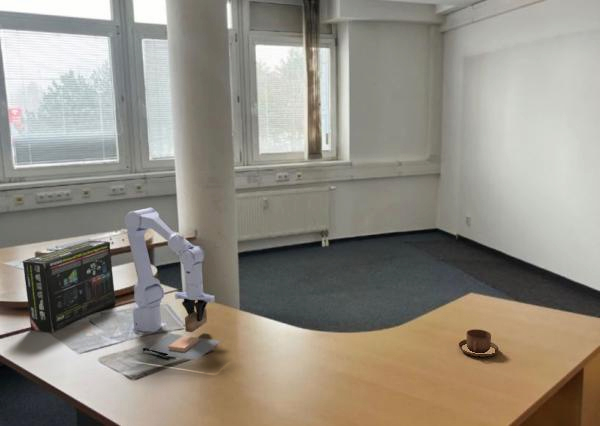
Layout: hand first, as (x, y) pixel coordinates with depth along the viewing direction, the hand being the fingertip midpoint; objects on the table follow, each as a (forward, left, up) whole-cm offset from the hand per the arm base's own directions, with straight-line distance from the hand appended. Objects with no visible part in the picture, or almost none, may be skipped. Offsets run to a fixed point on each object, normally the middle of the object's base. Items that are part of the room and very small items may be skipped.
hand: (196, 320), depth 183 cm
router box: (-58, +5, -7) cm, 59 cm away
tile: (0, -4, -5) cm, 6 cm away
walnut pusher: (0, 0, -2) cm, 2 cm away
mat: (0, -9, -6) cm, 11 cm away
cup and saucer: (+93, +17, -7) cm, 95 cm away
